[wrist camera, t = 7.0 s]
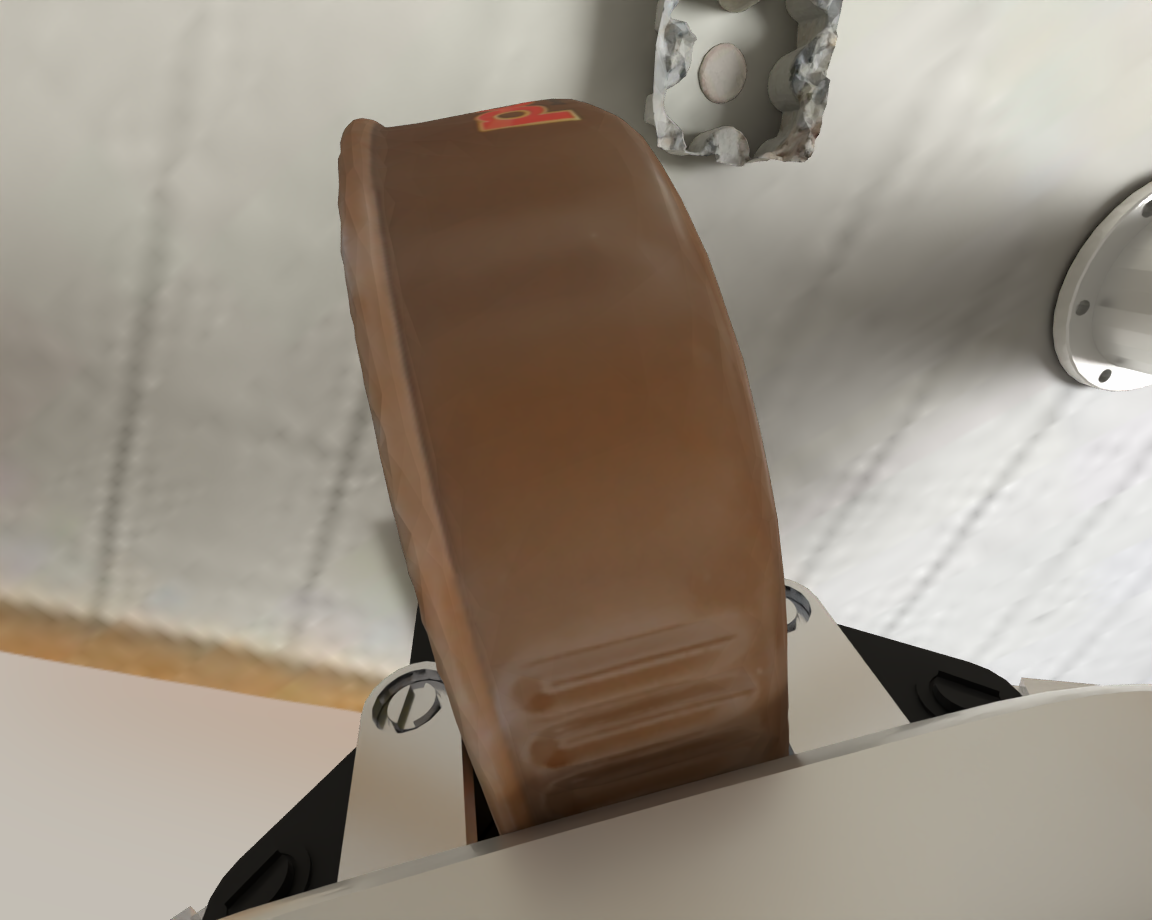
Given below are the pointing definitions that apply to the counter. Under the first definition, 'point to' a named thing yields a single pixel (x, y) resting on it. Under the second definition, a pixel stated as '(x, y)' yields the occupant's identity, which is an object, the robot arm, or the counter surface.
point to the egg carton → (723, 73)
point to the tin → (566, 454)
